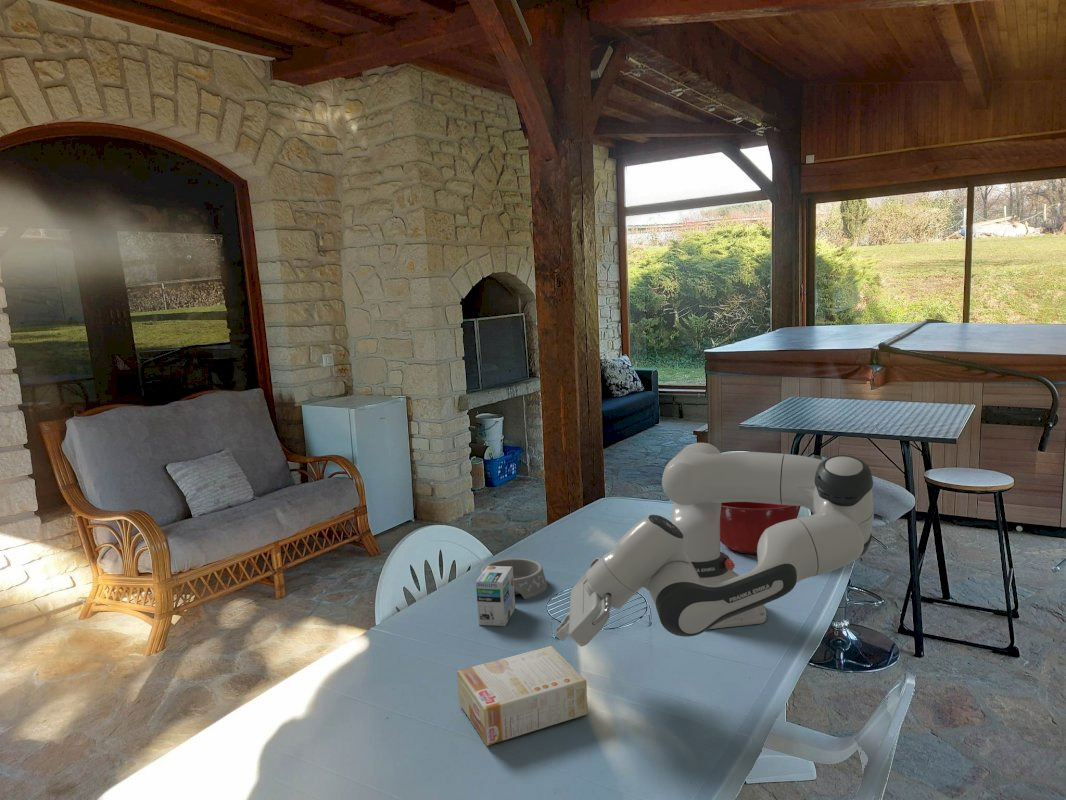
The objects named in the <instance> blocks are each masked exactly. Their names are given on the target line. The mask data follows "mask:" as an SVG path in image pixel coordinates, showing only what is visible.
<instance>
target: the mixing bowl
mask: <svg viewBox="0 0 1066 800" xmlns="http://www.w3.org/2000/svg"><path fill="white" fill-rule="evenodd" d="M800 509H801V506H790V505H777V504H766V503H755V502H726V503H721V513H720V543H721V544H722V545H724V546H725V547H727V548H728V549H729V550H732V551H734V552H737V553H740V554H748V555H752V554H753V555H754V554H755V555H757V546H758V542H759V539H760V537H761V535H762V534H763V532H764V531H765V530H766V529H767V528H769V527H770V526H772V525H775V524H777V523H780V522H783V521H787V520H792V519H796V518H798V516H799V513H800Z"/></svg>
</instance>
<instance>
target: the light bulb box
mask: <svg viewBox="0 0 1066 800" xmlns="http://www.w3.org/2000/svg"><path fill="white" fill-rule="evenodd" d="M475 587H476V589H475V590H476V591H475V592H476V600H477V601H476V602H477V603H476V605H477V614H478V615H477V617H478V618H477V619H478V626H494V627H495V626H496V627H497V626H498V627H506V626H507V624H508V622H509V620H510V619H511V617H512V615H513V613H514V612H515V609H516V600H515V599H516V596H515V595H516V594H515V595H514V578H513V567H509V566H487V567H486V568H485V570H484V571H483V572H482V574H481V575H480V574H479V576H478V578H477V579H476V581H475Z"/></svg>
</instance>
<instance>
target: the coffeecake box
mask: <svg viewBox="0 0 1066 800" xmlns="http://www.w3.org/2000/svg"><path fill="white" fill-rule="evenodd" d="M456 675H457V685H458V686H457V695H458V703H459V705H460V707H461V708H462V710H463V712H464V713H465V714H466V715H467V718H468V719H469V721H470V722H471V724H472V725H473V727H474V728H475V730H476V731H477V733H478V734H479V736H480V738H481V740H482V741H483V742H484V744H485V745H486V747H488V746H491V745H495V744H497V743H500V742H503V741H507V740H509V739H512V738H516V737H519V736H522V735H526V734H528V733H531V732H535V731H538V730H542V729H545V728H547V727H551V726H553V725H558V724H561V723H563V722H567V721H570V720H573V719H576V718H580V717H583V716H586V715H588V714H589V712H588V709H589V708H588V692H587V689H588V688H587V685H588V684H587V679H586V678H585V677H584V676H582V675H581V674H580V673H579V672H578V671H577V670H576V669H575V668H574V667H573V666H572V665H571V664H570V663H569V662H568V661H567V660H566V659H565V658H564V657H563V656H562V655H561V654H560V653H559V652H558V650H556V649H555V648H554V647H553V645H549V646H545V647H542V648H539V649H534V650H530V651H527V652H523V653H519V654H516V655H512V656H508V657H504V658H500V659H497V660H493V661H489V662H485V663H481V664H478V665H475V666H474V665H473V666H470V667H466V668H463V669H458V670H457V673H456Z"/></svg>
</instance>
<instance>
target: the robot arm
mask: <svg viewBox="0 0 1066 800" xmlns="http://www.w3.org/2000/svg"><path fill="white" fill-rule="evenodd" d="M873 486H874V479H873V474H872V471H871V469H870V467H869V465H868V464H867V463H866V462H865V461H864V460H862V459H861V458H858V457H855V456H851V455H845V454H839V455H833V456H830V457H828V458H826V459H821V458H820V459H819V458H815V457H811V456H805V455H799V454H790V453H777V452H776V453H774V452H764V451H763V452H762V451H761V452H760V451H742V452H733V453H730V452H729V453H721V451H720V450H719V449H718V448H717V447H716V446H714V445H713V444H710V443H708V442H695V443H691V444H688V445H686V446H685V447H684V448H682V449H681V450H680V451H679V452H678V453H676V455H675V456H673V458H672V459H670V460H669V461H668V463H667V464H666V465H665V468H664V470H663V473H662V478H661V487H662V490H663V491H664V493H665V495H666V497H667V498H668V499H669V500H670V501H671V502H672V503H673V506H672V513H671V518H670V520H669V519H668V518H666V517H664V516H661V515H658V514H649V515H647V516H645V517H643V518H642V519H640V520H639V521H637V523H635V524H634V525H633V526H632V527H631V528H629V529H628V531H626V532H625V533H624V534H623V535H622V536H621V537H620V538H619V539H618V540H617V543H616V545H615V546H614V547H613V549H611V551H608V552H606V553H605V554H604V555H603V556H602V557H601V558H600V557H598V556H597V557H595V559H593V561H592V562H590V568H588V569H587V571H586V572H585V573H584V574H583V575H582V576H581V578H579V580H578V581H577V582H576V583H575V584H574V586H573V587H572V589H571V591H570V600H569V611H568V612H567V614H566V615H565V617H564V618H563V620H562V621H561V623H560V624H559V625H557V627H556V634H555V635H556V638H557V639H558V640H559V641H560V642H562V641H565V640H566V639H567V638H568V636H569V638H570V639H571V640H572V641H573V642H575V643H576V644H577V645H578V646H579V647H585V646H587V645H588V644H589V643H590V642H591V641H592V640H593V639H594V637H596V636H597V634H598V633H600V631H601V630H602V629H603V627H604V626H605V625H606V624H607V622H609V619H610V616H611V614H610V613H611V612H610V609H611V608H614V609H618V610H620V609H622V607H623V606H625V605H626V603H627V602H628V601H629V600H630V599H631V598H632V597H634V596H635V594H636V593H638V591H639V590H640V589H643V588H644V589H646V590H647V591H648V593H649V595H650V598H651V599H652V601H653V604H654V606H655V609H656V612H657V615H658V618H659V622H660V623H661V625H662V627H663V628H664V629H665V631H667V632H668V633H670V634H672V635H674V636H677V637H682V638H683V637H684V638H685V637H688V638H689V637H694V636H699V635H700V634H703V633H704V632H706V631H708V630H712V629H724V628H732V627H741V626H751V625H758V624H759V625H761V624H764V623H765V622H766V620H767V618H768V617H767V611H766V610H767V609H766V608H765V606H764V605H765V604H768V603H771V602H773V601H775V600H777V599H779V598H782V597H783V596H786V595H787V594H789V593H790V592H791V591H792V590H793V589H794V588H795V586H796V584H797V583H800V582H801V581H803V580H805V579H809V578H812V577H817V576H820V575H823V574H826V573H829V572H832V571H834V570H837V569H840V568H843V567H844V566H847V565H849V564H851V563H853V562H855V561H857V560H858V559H859V558H861V557H862V556H864V555H865V554H866V552H867V551H868V549H869V547H870V544H871V542H872V537H873V535H872V530H873V525H874V518H875V517H874V516H875V515H874V514H875V508H874V495H873ZM726 502H755V503H766V504H777V505H790V506H800V507H803V508H806V509H808V510H810V512H812V514H811V515H806V516H801V517H797V518H796V519H792V520H787V521H783V522H780V523H777V524H775V525H772V526H770V527H769V528H767V529H766V530H765V531H764V532H763V534H762V535H761V537H760V539H759V542H758V546H757V554H756V555H757V564H756V566H755V567H754V568H753V569H751V570H750V571H748V572H746V573H743V574H738V573H737V572H736V571H734V569H735V567H736V566H735V563H734V561H733V560H732V559H730V556H729V555H727V554H726V553H725V551H721V541H720V513H721V503H726Z"/></svg>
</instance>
